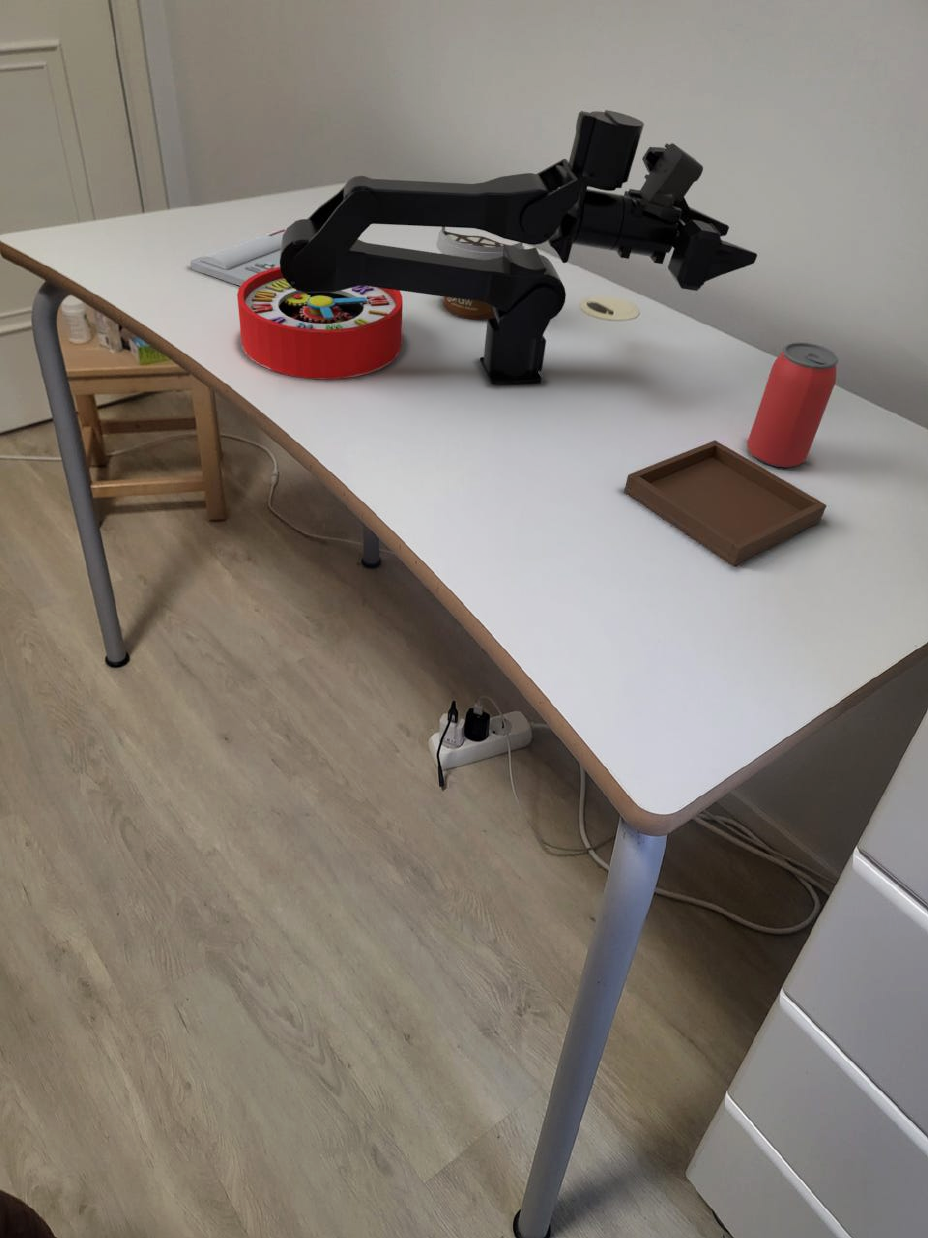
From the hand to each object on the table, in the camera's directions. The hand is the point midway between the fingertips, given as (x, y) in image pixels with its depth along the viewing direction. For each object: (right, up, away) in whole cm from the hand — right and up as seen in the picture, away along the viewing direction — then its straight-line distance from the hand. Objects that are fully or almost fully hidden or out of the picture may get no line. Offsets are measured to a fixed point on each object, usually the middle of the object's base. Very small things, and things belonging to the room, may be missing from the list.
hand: (740, 243), depth 102 cm
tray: (-6, -32, -12) cm, 35 cm away
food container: (-31, -1, +20) cm, 37 cm away
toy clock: (-50, -8, +10) cm, 52 cm away
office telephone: (-56, +7, +27) cm, 63 cm away
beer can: (+3, -25, -3) cm, 25 cm away
